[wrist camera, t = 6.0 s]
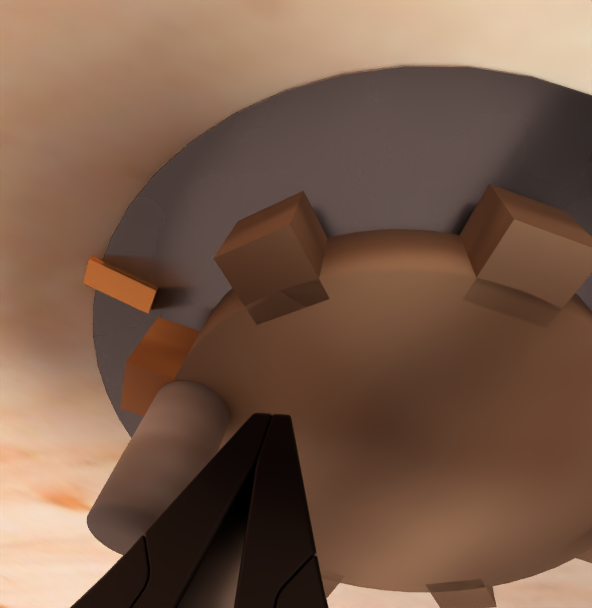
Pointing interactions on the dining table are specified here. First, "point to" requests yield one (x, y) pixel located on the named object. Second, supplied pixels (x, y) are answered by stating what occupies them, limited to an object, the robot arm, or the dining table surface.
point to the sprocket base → (336, 182)
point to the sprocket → (387, 394)
